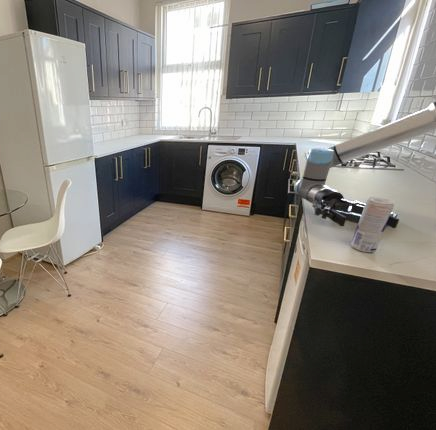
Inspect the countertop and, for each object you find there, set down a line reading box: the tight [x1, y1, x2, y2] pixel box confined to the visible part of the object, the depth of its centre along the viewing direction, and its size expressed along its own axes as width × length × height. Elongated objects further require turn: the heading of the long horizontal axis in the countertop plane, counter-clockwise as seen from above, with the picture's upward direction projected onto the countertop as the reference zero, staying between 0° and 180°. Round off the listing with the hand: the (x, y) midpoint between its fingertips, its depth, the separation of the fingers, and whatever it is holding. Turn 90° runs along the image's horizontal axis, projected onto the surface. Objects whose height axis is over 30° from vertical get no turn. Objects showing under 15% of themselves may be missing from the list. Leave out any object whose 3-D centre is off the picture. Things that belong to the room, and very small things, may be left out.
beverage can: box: [350, 196, 396, 253], centre depth 78 cm, size 6×6×15 cm
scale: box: [336, 206, 399, 229], centre depth 101 cm, size 14×14×3 cm
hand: (369, 222), depth 79 cm, fingers open, 13 cm apart
